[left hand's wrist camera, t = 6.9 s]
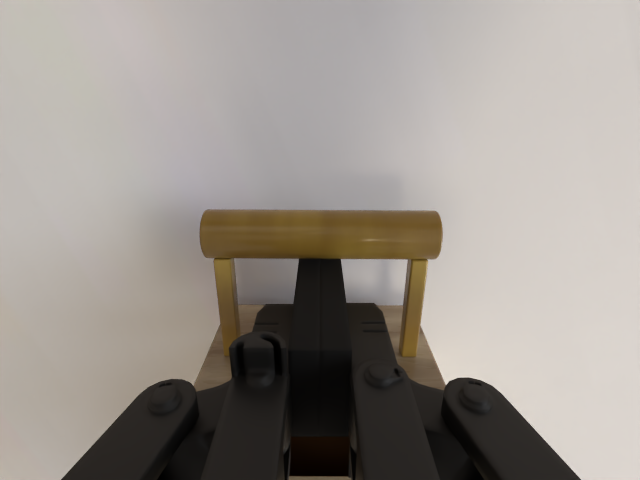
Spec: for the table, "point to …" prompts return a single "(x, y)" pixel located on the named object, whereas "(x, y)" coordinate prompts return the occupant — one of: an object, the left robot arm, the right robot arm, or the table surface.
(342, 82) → the table surface
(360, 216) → the drawer
